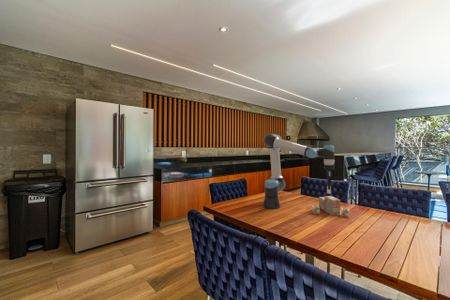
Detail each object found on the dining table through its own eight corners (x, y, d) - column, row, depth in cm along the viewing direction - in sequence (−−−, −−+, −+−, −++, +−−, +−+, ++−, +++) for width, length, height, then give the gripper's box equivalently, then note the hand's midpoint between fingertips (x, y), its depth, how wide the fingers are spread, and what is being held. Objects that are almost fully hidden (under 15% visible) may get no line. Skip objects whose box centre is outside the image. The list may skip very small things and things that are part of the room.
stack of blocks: (318, 207, 186) (318, 193, 186) (325, 207, 187) (325, 193, 186) (332, 215, 165) (332, 199, 165) (340, 215, 165) (340, 199, 165)
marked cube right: (341, 216, 164) (341, 209, 164) (341, 214, 168) (341, 207, 168) (348, 217, 162) (349, 210, 161) (348, 215, 166) (348, 208, 166)
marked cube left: (312, 213, 171) (312, 206, 171) (311, 211, 176) (311, 205, 176) (319, 213, 170) (319, 207, 170) (318, 211, 175) (318, 205, 175)
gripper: (335, 165, 167) (334, 195, 168) (333, 163, 179) (333, 192, 180) (324, 165, 170) (324, 194, 170) (323, 163, 182) (323, 191, 183)
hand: (328, 193), depth 175 cm, fingers closed
